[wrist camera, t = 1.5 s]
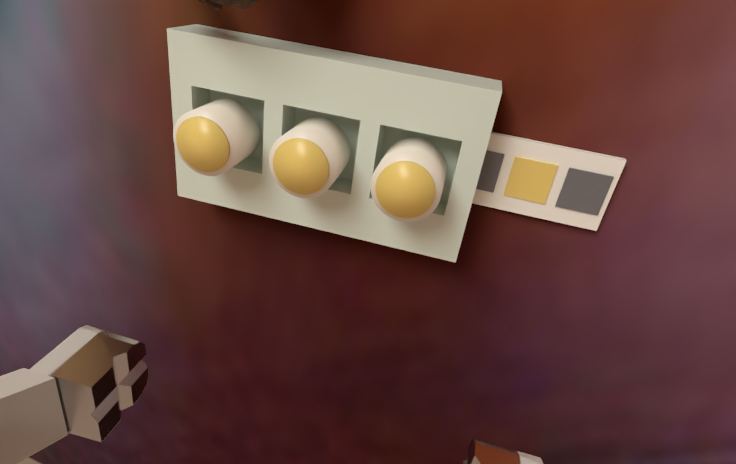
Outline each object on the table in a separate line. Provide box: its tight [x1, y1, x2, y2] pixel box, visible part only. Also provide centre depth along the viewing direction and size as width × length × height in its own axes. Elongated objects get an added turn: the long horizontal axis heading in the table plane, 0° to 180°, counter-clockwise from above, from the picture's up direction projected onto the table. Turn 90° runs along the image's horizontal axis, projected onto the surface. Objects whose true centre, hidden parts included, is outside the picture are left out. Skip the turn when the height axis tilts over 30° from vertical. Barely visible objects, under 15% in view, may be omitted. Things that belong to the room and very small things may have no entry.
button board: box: [167, 24, 502, 263], centre depth 28 cm, size 18×10×3 cm, turn 81°
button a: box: [370, 137, 447, 222], centre depth 25 cm, size 4×4×3 cm
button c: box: [173, 98, 260, 176], centre depth 26 cm, size 4×4×3 cm
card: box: [472, 132, 626, 231], centre depth 27 cm, size 9×4×1 cm, turn 81°
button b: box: [269, 117, 350, 198], centre depth 26 cm, size 4×4×3 cm
